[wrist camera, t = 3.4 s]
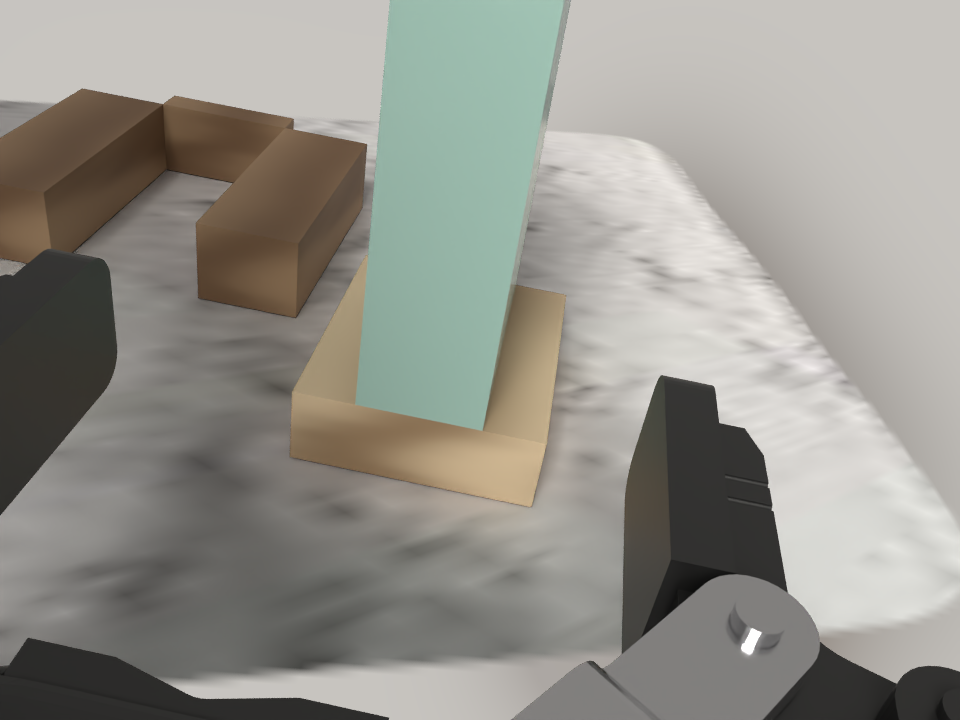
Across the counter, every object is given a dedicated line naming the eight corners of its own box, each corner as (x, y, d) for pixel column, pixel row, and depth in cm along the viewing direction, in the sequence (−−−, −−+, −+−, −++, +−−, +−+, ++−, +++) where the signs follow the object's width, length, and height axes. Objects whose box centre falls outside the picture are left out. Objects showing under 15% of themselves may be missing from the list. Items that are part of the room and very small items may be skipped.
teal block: (355, 404, 21) (394, -60, 16) (415, 265, 27) (460, -110, 21) (482, 430, 21) (569, -27, 15) (515, 285, 27) (587, -87, 21)
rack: (-42, 249, 28) (-57, 172, 26) (101, 144, 35) (95, 80, 34) (295, 317, 27) (298, 243, 26) (368, 197, 35) (373, 134, 33)
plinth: (289, 456, 22) (291, 391, 21) (361, 312, 28) (365, 255, 27) (531, 507, 22) (546, 444, 21) (553, 351, 28) (566, 294, 27)
